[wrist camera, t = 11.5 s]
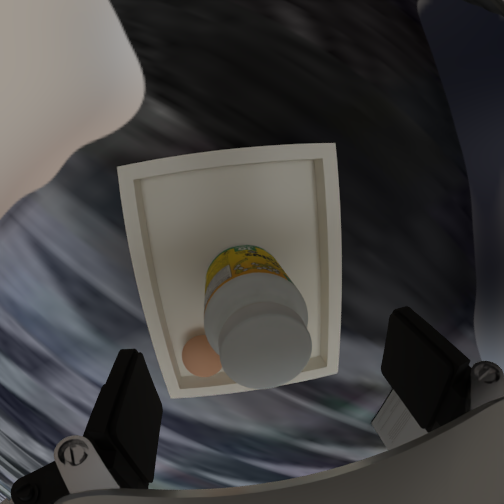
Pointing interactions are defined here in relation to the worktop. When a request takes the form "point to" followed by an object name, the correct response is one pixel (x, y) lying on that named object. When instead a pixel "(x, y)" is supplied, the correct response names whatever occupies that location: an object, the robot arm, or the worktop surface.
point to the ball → (200, 357)
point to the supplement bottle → (255, 318)
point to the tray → (233, 243)
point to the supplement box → (396, 423)
